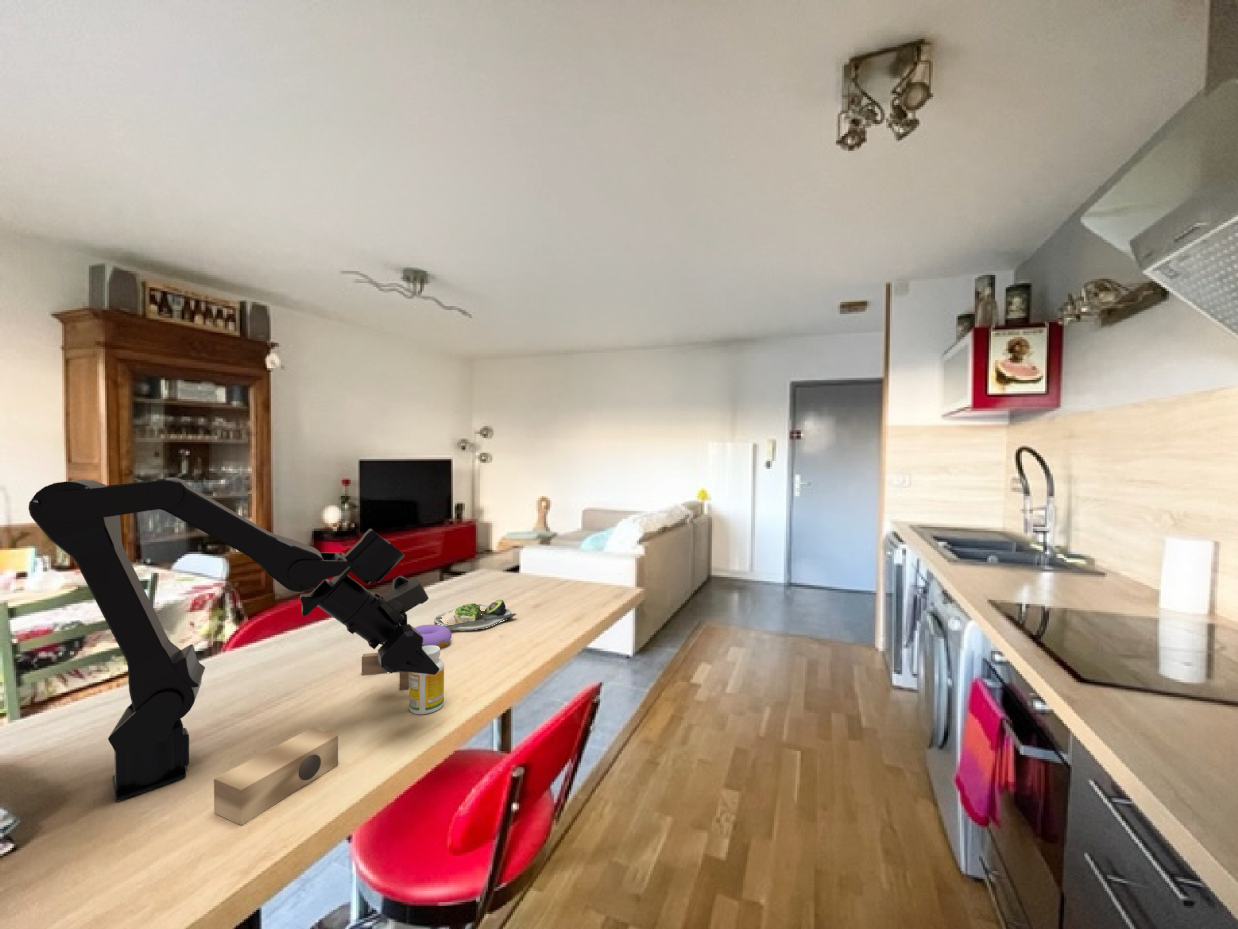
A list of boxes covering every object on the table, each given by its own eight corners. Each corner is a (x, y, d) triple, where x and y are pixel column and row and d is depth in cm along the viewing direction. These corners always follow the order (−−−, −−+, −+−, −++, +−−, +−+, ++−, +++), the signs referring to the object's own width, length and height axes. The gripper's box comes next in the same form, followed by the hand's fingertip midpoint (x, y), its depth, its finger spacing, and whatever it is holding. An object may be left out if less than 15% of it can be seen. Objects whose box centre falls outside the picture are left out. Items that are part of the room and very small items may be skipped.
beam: (242, 826, 56) (242, 790, 56) (214, 813, 58) (214, 778, 58) (339, 765, 67) (339, 735, 67) (312, 756, 69) (312, 727, 69)
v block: (403, 691, 88) (403, 671, 88) (358, 674, 95) (358, 655, 95) (440, 674, 95) (440, 656, 95) (395, 659, 102) (395, 642, 102)
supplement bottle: (404, 716, 80) (404, 656, 80) (415, 700, 85) (415, 644, 85) (439, 714, 80) (439, 655, 80) (447, 698, 86) (447, 643, 86)
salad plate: (469, 642, 113) (470, 622, 113) (414, 629, 121) (414, 610, 121) (524, 618, 130) (524, 600, 130) (472, 608, 138) (472, 591, 138)
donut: (394, 652, 105) (396, 628, 106) (413, 645, 114) (415, 623, 115) (441, 653, 105) (443, 629, 106) (456, 646, 114) (458, 624, 115)
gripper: (406, 577, 72) (482, 638, 78) (386, 555, 88) (450, 607, 94) (344, 642, 68) (430, 701, 74) (334, 607, 83) (406, 658, 90)
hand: (430, 661), depth 83 cm, fingers open, 9 cm apart
